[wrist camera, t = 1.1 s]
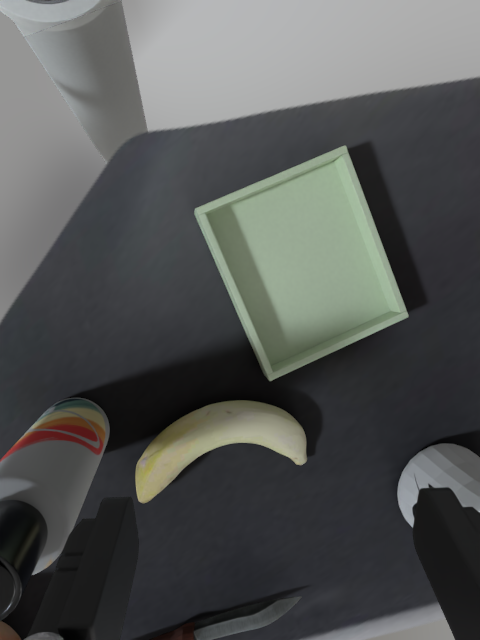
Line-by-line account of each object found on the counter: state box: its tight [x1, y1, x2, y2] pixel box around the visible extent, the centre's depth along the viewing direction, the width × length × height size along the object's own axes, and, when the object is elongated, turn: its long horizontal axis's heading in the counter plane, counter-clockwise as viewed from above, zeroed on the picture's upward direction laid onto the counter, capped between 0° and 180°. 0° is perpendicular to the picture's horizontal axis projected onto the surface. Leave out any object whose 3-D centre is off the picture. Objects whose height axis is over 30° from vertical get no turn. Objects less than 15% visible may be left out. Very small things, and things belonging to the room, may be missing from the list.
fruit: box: [135, 400, 307, 503], centre depth 38 cm, size 7×15×3 cm, turn 98°
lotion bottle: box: [0, 398, 110, 621], centre depth 28 cm, size 6×6×20 cm
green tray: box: [194, 145, 409, 381], centre depth 38 cm, size 15×13×2 cm
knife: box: [150, 596, 302, 640], centre depth 40 cm, size 18×2×3 cm, turn 103°
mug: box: [397, 443, 480, 527], centre depth 39 cm, size 12×9×10 cm
